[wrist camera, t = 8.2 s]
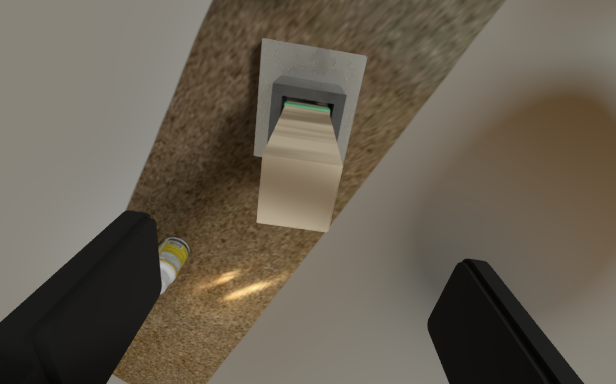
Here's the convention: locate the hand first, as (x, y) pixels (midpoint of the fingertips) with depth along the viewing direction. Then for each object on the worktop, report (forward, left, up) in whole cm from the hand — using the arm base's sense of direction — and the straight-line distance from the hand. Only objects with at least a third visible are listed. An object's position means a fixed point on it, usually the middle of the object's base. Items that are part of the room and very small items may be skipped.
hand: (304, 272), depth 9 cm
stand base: (+1, 0, -31) cm, 31 cm away
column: (+1, 0, -22) cm, 22 cm away
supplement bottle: (+27, -18, -32) cm, 45 cm away
